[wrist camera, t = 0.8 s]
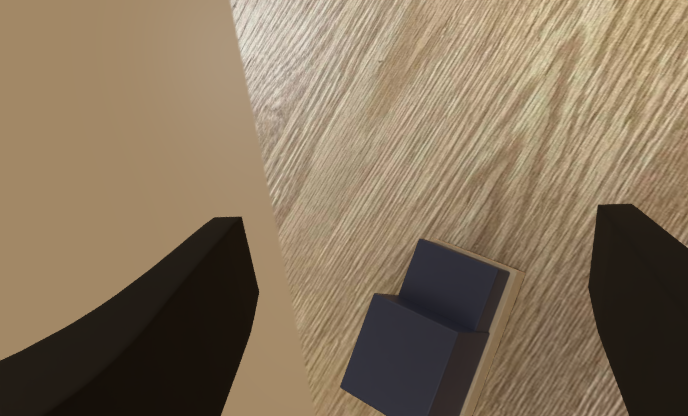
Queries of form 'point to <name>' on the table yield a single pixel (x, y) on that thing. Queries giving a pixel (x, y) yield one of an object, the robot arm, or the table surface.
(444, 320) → the dark stepped block
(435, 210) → the table surface
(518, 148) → the table surface
